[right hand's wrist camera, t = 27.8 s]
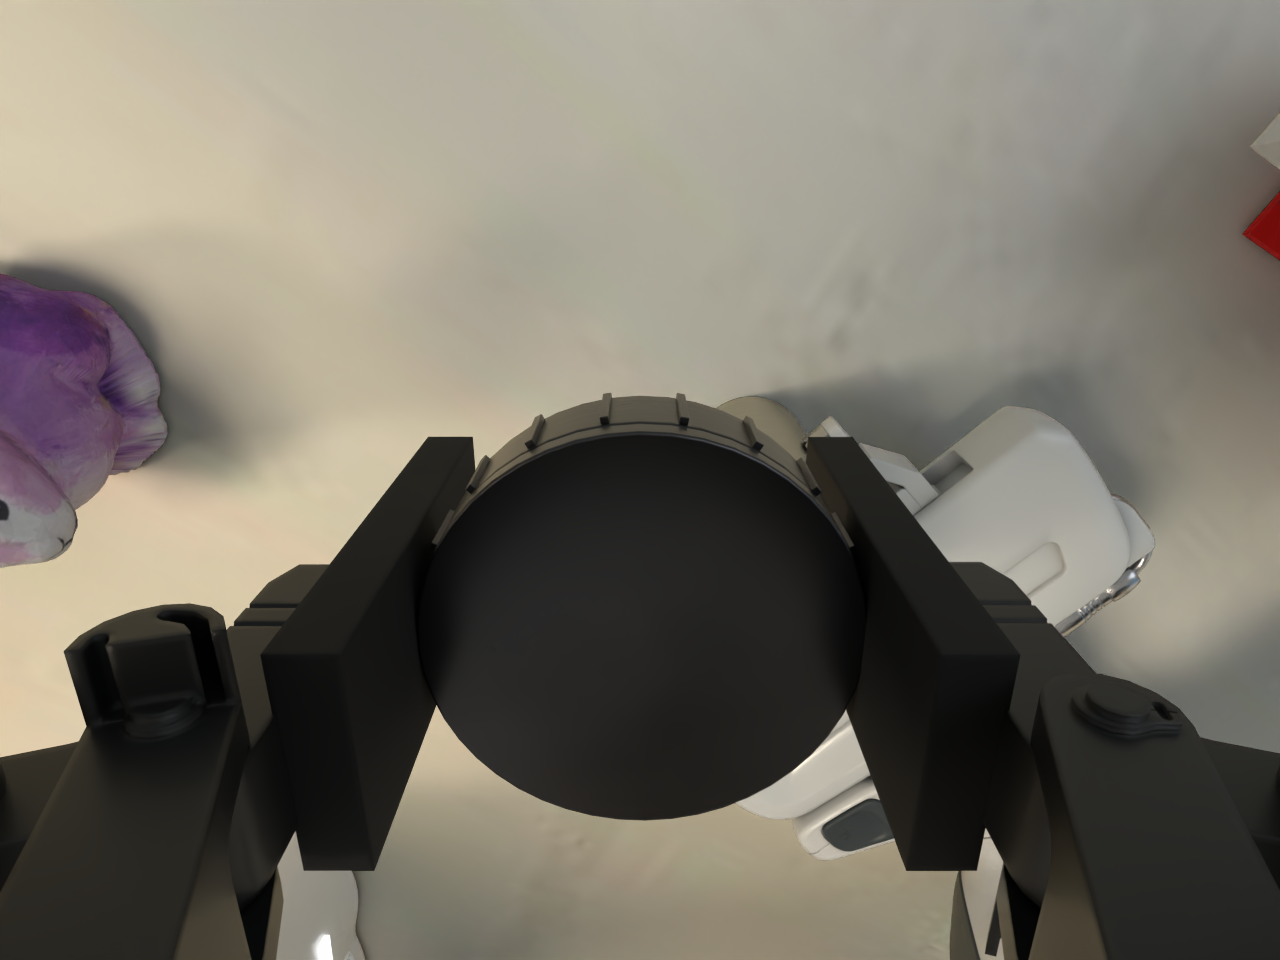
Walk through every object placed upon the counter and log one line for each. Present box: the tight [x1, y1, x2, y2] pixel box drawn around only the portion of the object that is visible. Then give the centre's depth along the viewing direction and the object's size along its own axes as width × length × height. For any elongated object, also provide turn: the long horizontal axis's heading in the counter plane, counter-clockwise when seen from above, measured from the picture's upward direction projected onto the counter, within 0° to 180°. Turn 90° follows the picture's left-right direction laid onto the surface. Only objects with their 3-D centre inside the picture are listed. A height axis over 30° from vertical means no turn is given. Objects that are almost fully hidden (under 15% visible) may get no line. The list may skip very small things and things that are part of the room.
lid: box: [417, 393, 867, 820], centre depth 11 cm, size 6×6×2 cm
